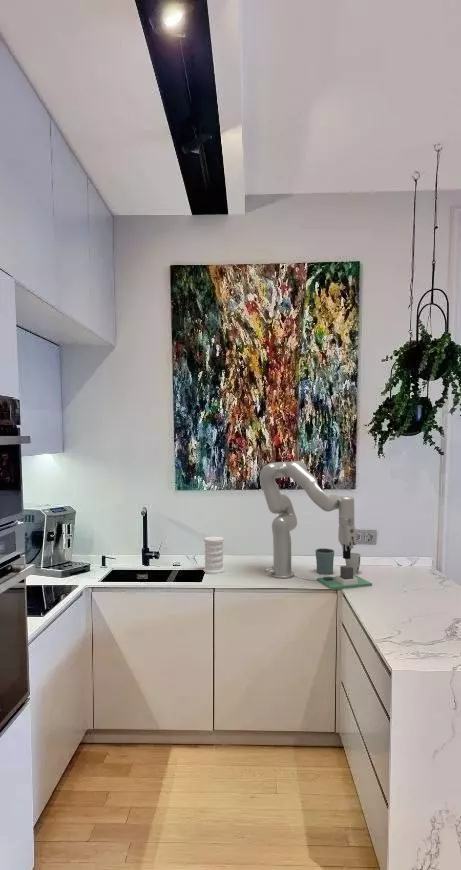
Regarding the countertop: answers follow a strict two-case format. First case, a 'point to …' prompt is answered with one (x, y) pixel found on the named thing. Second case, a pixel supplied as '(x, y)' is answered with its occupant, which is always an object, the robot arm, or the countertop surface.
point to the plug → (346, 572)
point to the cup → (354, 562)
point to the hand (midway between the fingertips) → (346, 558)
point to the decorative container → (213, 555)
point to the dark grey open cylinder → (324, 561)
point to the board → (343, 582)
